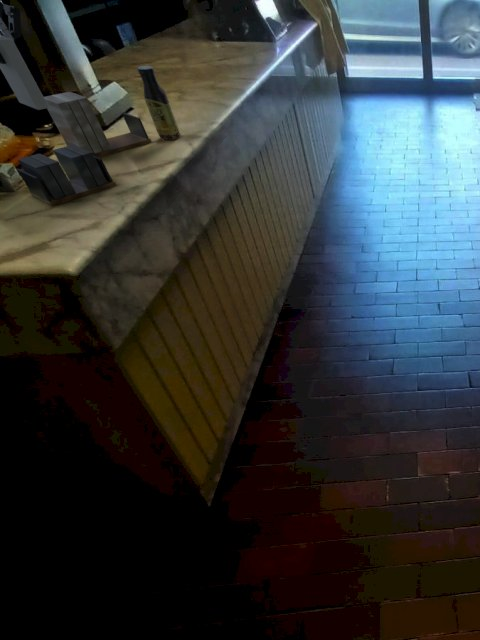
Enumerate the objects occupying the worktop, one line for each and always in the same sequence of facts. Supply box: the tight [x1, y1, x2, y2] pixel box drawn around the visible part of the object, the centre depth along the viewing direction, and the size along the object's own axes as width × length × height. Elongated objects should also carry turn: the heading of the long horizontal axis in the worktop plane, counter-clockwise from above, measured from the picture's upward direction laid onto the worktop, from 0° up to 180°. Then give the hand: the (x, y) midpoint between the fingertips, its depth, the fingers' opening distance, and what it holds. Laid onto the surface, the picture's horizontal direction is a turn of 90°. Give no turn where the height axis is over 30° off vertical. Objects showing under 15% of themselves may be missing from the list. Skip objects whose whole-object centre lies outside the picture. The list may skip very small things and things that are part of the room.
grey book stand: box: [43, 91, 152, 158], centre depth 152 cm, size 20×10×15 cm, turn 148°
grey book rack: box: [16, 145, 117, 207], centre depth 132 cm, size 16×10×9 cm, turn 148°
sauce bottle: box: [136, 65, 181, 141], centre depth 158 cm, size 7×6×20 cm
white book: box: [0, 35, 49, 111], centre depth 118 cm, size 2×9×14 cm, turn 57°
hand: (10, 61), depth 117 cm, fingers closed on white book, 2 cm apart
